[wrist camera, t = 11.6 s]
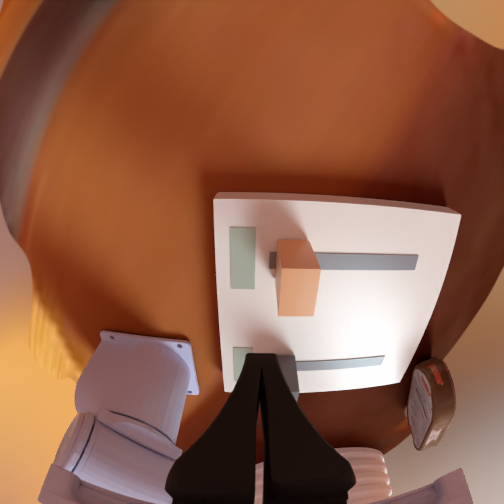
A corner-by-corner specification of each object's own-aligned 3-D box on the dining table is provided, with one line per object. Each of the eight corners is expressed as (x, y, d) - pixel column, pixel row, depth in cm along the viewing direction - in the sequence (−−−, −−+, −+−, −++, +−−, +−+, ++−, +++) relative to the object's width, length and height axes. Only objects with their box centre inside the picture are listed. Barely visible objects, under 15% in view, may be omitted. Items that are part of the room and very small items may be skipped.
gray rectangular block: (268, 378, 23) (269, 413, 19) (270, 355, 22) (271, 391, 18) (291, 378, 23) (294, 412, 19) (294, 355, 22) (299, 391, 18)
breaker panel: (226, 376, 26) (224, 392, 24) (217, 191, 18) (213, 199, 17) (394, 369, 26) (399, 382, 24) (447, 206, 18) (461, 215, 16)
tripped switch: (274, 281, 19) (278, 316, 15) (277, 239, 17) (281, 268, 14) (304, 281, 19) (313, 316, 15) (308, 240, 17) (321, 269, 14)
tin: (419, 408, 30) (436, 453, 22) (400, 416, 30) (415, 462, 23) (434, 340, 24) (467, 396, 16) (409, 350, 25) (440, 410, 17)
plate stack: (407, 452, 38) (420, 496, 27) (311, 495, 48) (314, 531, 37) (314, 434, 32) (322, 505, 21) (213, 479, 41) (208, 525, 31)
